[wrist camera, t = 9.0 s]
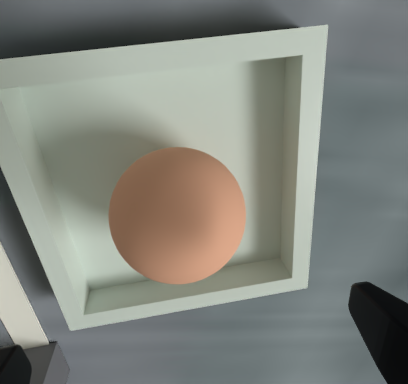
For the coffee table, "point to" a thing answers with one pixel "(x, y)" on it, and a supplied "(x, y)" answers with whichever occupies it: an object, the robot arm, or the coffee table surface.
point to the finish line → (28, 329)
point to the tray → (159, 139)
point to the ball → (177, 215)
